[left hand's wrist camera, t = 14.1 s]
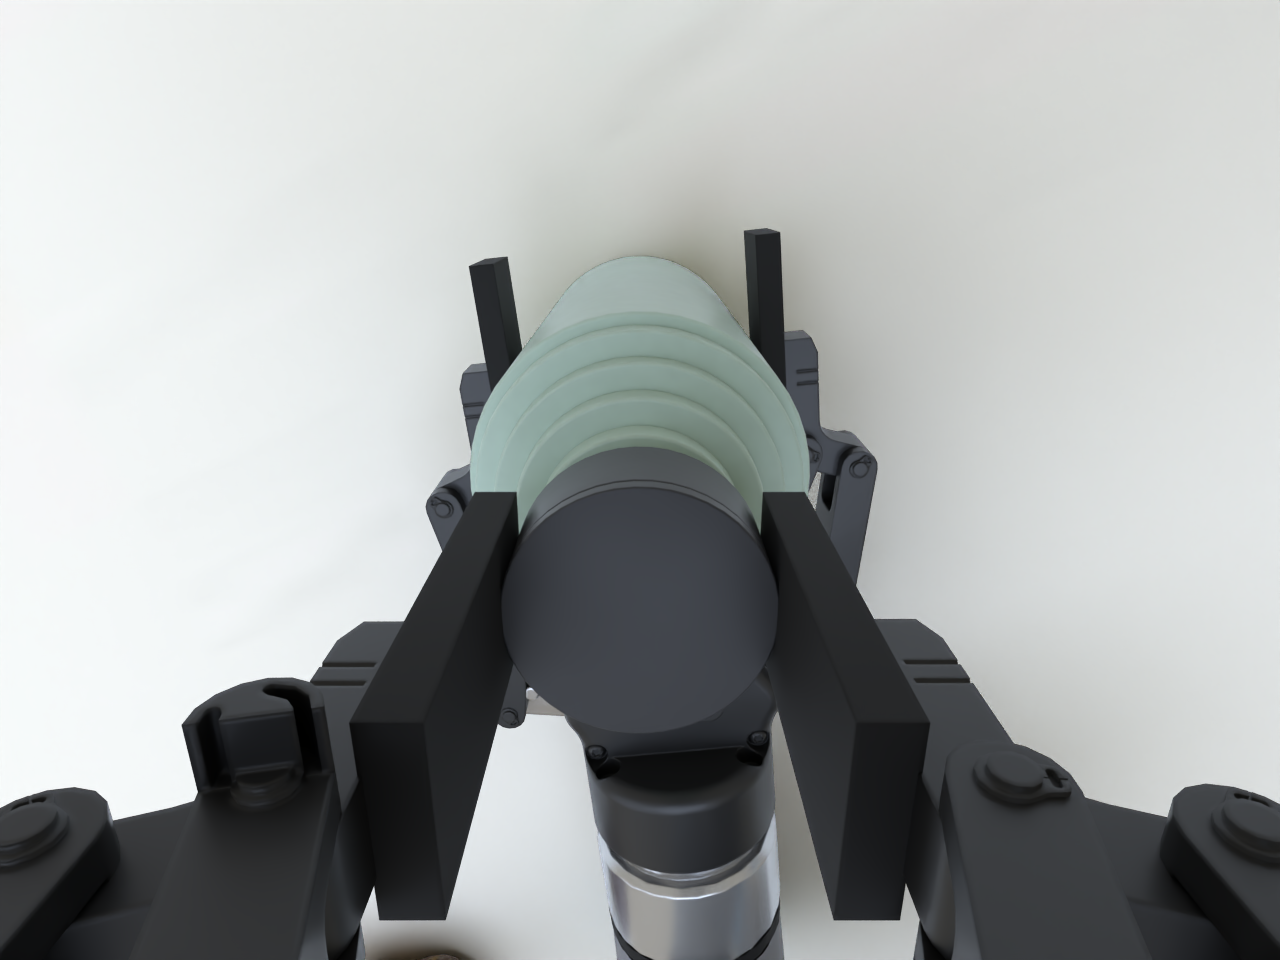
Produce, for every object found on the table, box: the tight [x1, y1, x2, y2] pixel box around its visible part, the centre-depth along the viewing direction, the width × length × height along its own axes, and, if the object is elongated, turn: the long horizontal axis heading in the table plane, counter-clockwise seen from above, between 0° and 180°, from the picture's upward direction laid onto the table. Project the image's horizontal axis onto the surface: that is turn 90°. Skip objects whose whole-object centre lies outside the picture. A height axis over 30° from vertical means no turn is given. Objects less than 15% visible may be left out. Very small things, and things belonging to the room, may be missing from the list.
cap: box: [501, 447, 779, 733], centre depth 14 cm, size 4×4×2 cm
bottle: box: [470, 256, 810, 534], centre depth 23 cm, size 8×8×21 cm
